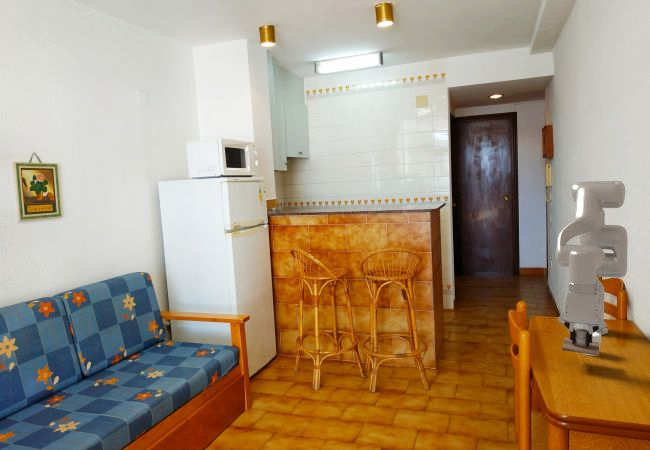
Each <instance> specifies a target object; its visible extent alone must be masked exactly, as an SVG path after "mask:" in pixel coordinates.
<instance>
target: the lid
mask: <svg viewBox="0 0 650 450" xmlns="http://www.w3.org/2000/svg"><path fill="white" fill-rule="evenodd" d="M587 332H588V331H587V330H586V329H582V328H577V329H575V344H572V340H570V337H564V340H563V343H562V346H561V350H562V351H564V352H565V351H566V352H570V353H571V352H572V353H578V354H582V353H584V354H583V355H585V354H591V355H597V357H598V356H599V355H600V350H599V342H593V341H592V343H590V345H589V346H587Z"/></svg>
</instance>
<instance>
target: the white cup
mask: <svg viewBox="0 0 650 450" xmlns="http://www.w3.org/2000/svg"><path fill="white" fill-rule="evenodd" d="M592 341H593V342H599V351H600V349H601V341H602V335H601V334H600V333H598V332H594V333H593V334H592ZM581 354H582V355H586V356H591V357H594V356H597V355H591V354H584V353H581ZM597 357H598V356H597Z"/></svg>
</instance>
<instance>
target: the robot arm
mask: <svg viewBox="0 0 650 450" xmlns="http://www.w3.org/2000/svg"><path fill="white" fill-rule="evenodd" d="M570 191H571V197H572V199H573V202H574V212H573V213H574V214H573V220H572V221H570V222H569V223H568V224H567V225H565V226H564V227H563V228H562V229H561V231H560V232H559V234H558V237H557V239H556V245H555V246H556V247H555V253H554V255H555V262H556V263H557V265H559V266H560V267H565V268H568V289H567V290H566V291H565V296H564V302H563V311H562V312H561V314H560V315H559V317H558V319H557V321H558V322H559V323H561V324H562V325H564V327H566V329H567V330H568V331H569V338H570V340H572V344H575V329H577V328H582V329H586V330H587V331H588V332H587V346H589V345H590V343H592V334H593V333H594V332H598V333H600V334H601V336H604V335H607V334H608V333H609V329H608V327H607V323H606V322H605V321H604V318H605V287H604V285H603V283H602V282H601V281H600V279H599V278H601V277H602V278H610V279H621V278H624V277H625V276H626V274H627V272H628V232H627V230H626V228H625V227H624V226H622V225H618V224H617V225H616V224H606V223H605V221H606V219H605V218H606V217H605V216H606V213H605V210H604V209H619V208H621V207H623V205H624V203H625V199H626V186H625V183H623V181H622V180H599V181H598V180H593V181H592V180H590V181H588V180H587V181H578V182H575V183H574V184H572V186H571V189H570ZM577 236H578V237H579V243H580V244H567V243H568V242H569V241H570V240H571V239H574V238H575V237H577ZM604 250H609V251H612V252H605V251H604Z"/></svg>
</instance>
